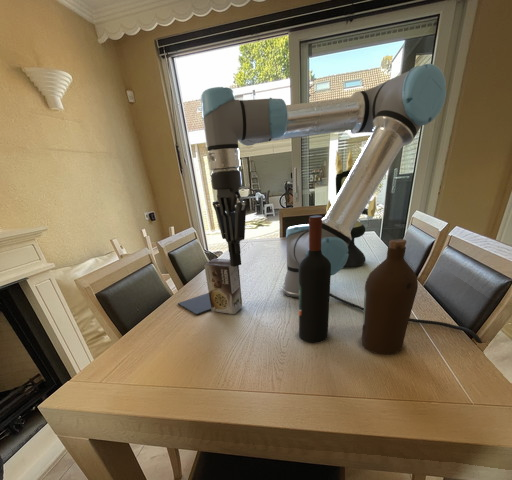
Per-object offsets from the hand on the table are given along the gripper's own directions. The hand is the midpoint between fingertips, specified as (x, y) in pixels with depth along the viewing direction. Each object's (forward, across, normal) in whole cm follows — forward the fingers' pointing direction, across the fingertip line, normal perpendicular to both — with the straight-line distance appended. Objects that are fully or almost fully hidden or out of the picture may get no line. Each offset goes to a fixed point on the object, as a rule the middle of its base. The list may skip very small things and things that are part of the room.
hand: (236, 265), depth 84 cm
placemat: (+17, -20, -1) cm, 26 cm away
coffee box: (+17, -9, 0) cm, 19 cm away
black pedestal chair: (+17, -11, +67) cm, 70 cm away
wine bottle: (+17, +24, +6) cm, 30 cm away
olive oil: (+17, +39, +14) cm, 45 cm away
